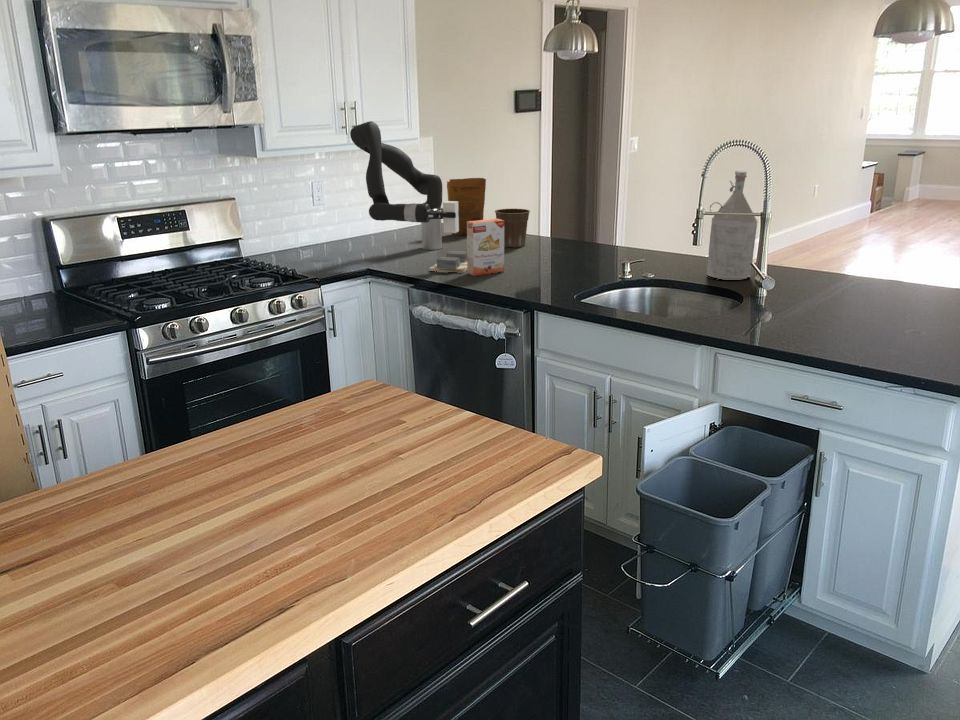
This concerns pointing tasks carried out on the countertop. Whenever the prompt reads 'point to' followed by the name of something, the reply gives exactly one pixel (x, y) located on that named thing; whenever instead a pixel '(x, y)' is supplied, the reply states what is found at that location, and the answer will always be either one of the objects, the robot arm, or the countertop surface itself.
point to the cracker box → (485, 246)
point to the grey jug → (732, 236)
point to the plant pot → (514, 226)
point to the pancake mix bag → (467, 200)
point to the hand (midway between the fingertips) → (457, 214)
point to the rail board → (451, 262)
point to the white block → (451, 223)
